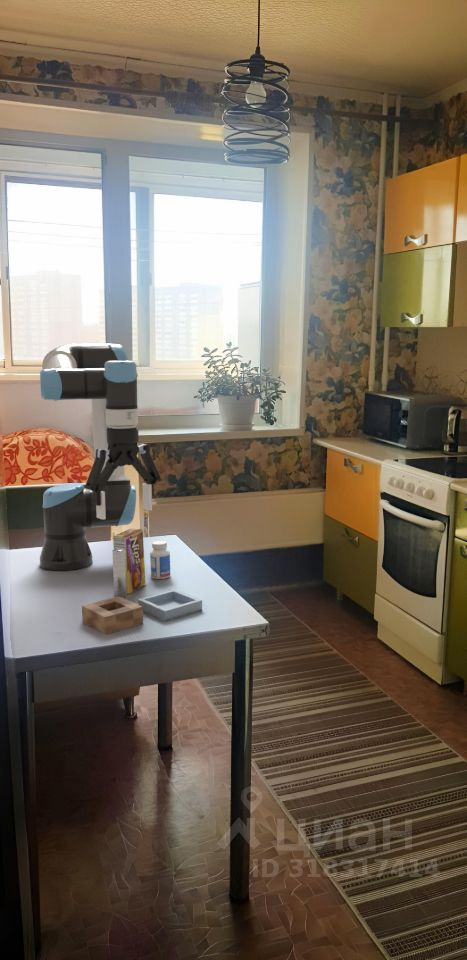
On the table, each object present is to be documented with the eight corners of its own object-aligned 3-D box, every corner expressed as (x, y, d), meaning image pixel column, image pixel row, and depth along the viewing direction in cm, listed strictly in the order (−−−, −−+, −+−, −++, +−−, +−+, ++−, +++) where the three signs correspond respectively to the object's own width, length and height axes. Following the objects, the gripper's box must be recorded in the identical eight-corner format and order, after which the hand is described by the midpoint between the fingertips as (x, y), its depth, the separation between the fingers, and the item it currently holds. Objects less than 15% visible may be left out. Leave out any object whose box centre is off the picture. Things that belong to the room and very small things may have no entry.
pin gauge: (112, 604, 182) (110, 549, 179) (122, 602, 184) (120, 547, 181) (118, 607, 179) (116, 552, 177) (129, 605, 181) (127, 550, 179)
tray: (138, 609, 178) (138, 599, 178) (174, 599, 186) (174, 589, 185) (165, 621, 170) (165, 611, 170) (202, 610, 178) (202, 600, 177)
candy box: (132, 582, 199) (130, 527, 196) (146, 584, 197) (144, 529, 195) (114, 592, 191) (112, 535, 188) (128, 594, 189) (127, 537, 186)
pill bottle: (172, 573, 206) (171, 540, 205) (168, 579, 201) (167, 545, 199) (152, 573, 207) (152, 539, 205) (148, 579, 202) (148, 544, 200)
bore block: (82, 622, 170) (81, 605, 169) (119, 612, 177) (118, 596, 176) (105, 634, 163) (105, 617, 162) (143, 623, 169) (142, 606, 169)
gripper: (85, 432, 163) (89, 525, 167) (173, 423, 180) (174, 508, 184) (67, 429, 169) (71, 519, 172) (154, 421, 186) (156, 504, 189)
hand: (124, 514), depth 178 cm, fingers open, 13 cm apart
